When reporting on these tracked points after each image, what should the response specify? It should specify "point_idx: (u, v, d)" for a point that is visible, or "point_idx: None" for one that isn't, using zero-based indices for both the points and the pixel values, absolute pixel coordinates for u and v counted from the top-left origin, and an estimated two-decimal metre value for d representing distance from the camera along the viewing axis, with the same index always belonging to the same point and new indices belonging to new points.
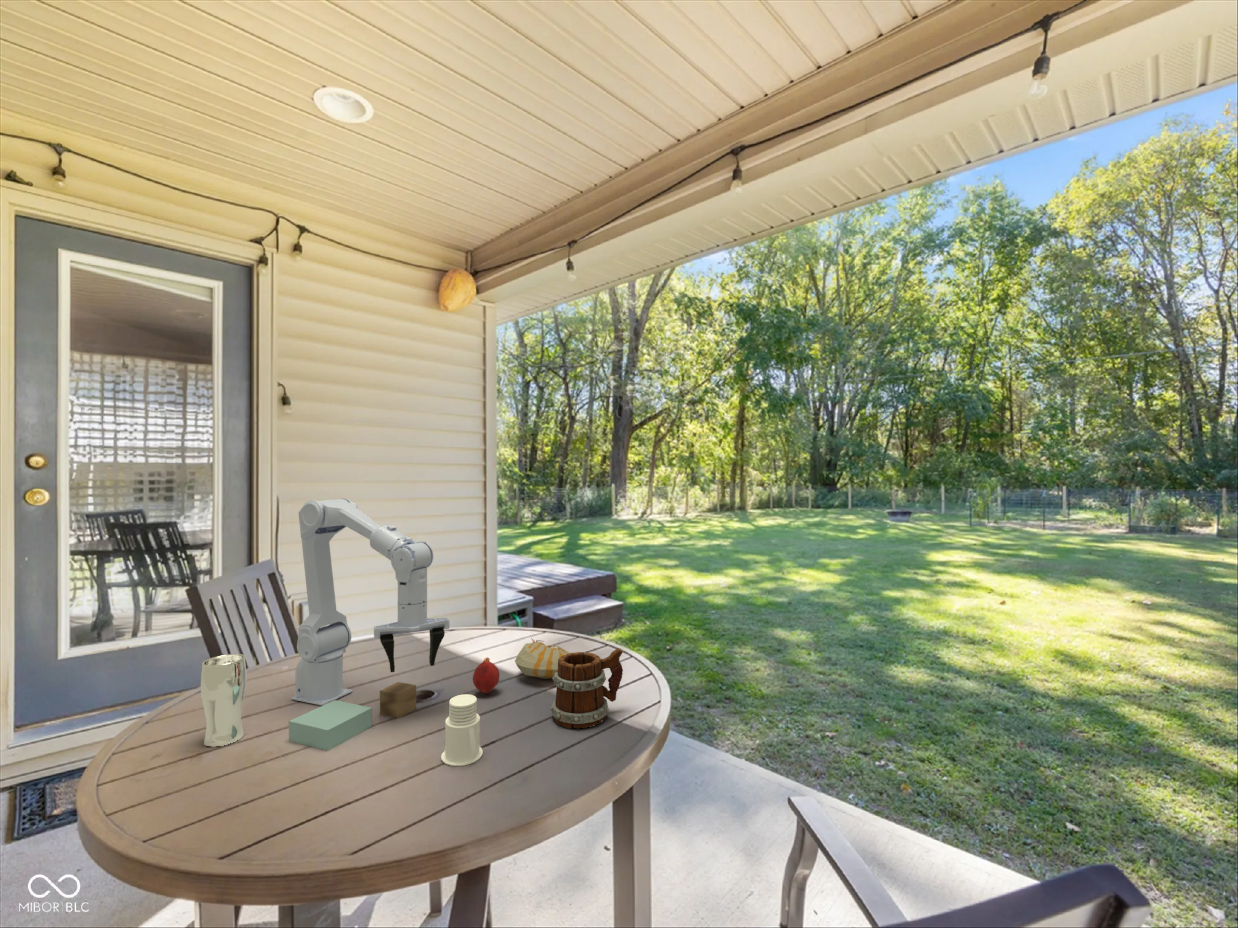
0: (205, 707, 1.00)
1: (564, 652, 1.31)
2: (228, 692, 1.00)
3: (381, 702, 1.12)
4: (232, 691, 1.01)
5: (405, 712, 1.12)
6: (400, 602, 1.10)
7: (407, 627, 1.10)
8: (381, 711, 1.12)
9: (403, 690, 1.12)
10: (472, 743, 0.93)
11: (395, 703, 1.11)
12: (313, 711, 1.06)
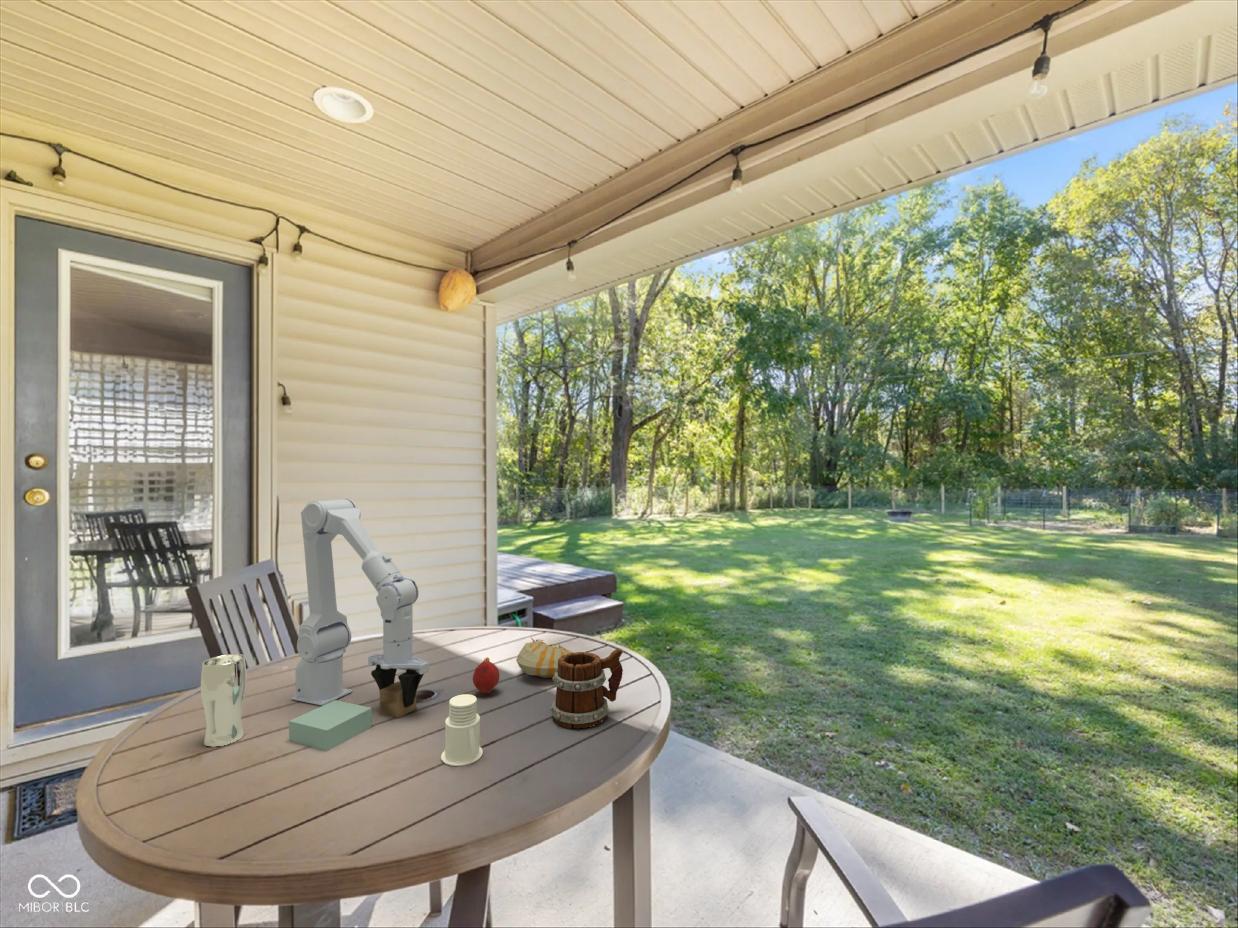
0: (205, 707, 1.00)
1: (565, 651, 1.31)
2: (228, 692, 1.00)
3: (381, 702, 1.12)
4: (232, 691, 1.01)
5: (405, 711, 1.12)
6: (385, 639, 1.12)
7: (383, 663, 1.12)
8: (381, 710, 1.12)
9: None
10: (472, 743, 0.93)
11: (396, 703, 1.11)
12: (313, 711, 1.06)
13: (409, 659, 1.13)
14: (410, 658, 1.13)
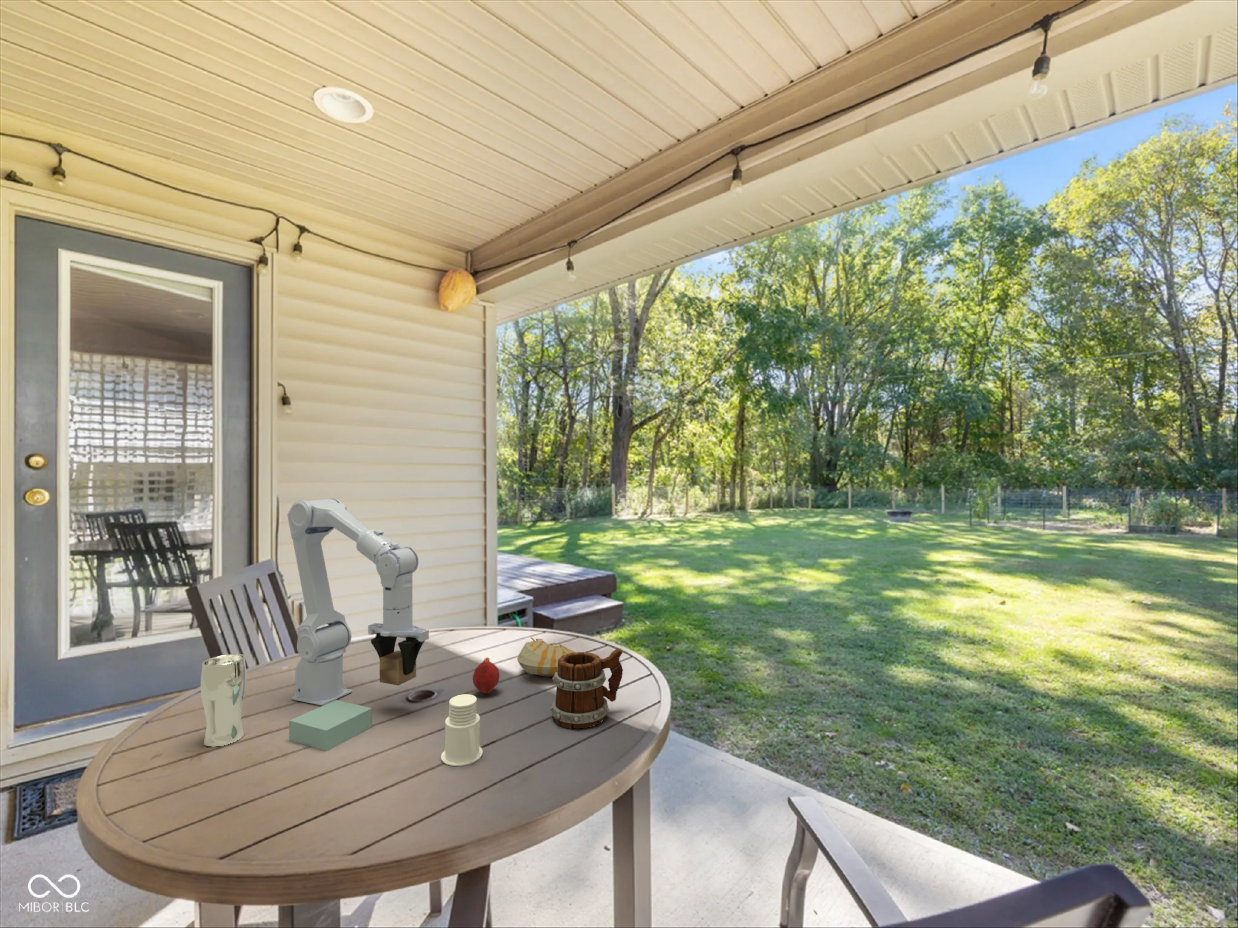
0: (205, 707, 1.00)
1: (566, 650, 1.32)
2: (228, 692, 1.00)
3: (381, 669, 1.12)
4: (232, 691, 1.01)
5: (405, 679, 1.12)
6: (385, 607, 1.12)
7: (383, 631, 1.12)
8: (381, 678, 1.12)
9: None
10: (472, 743, 0.93)
11: (395, 670, 1.11)
12: (313, 710, 1.06)
13: (409, 627, 1.13)
14: (410, 626, 1.13)
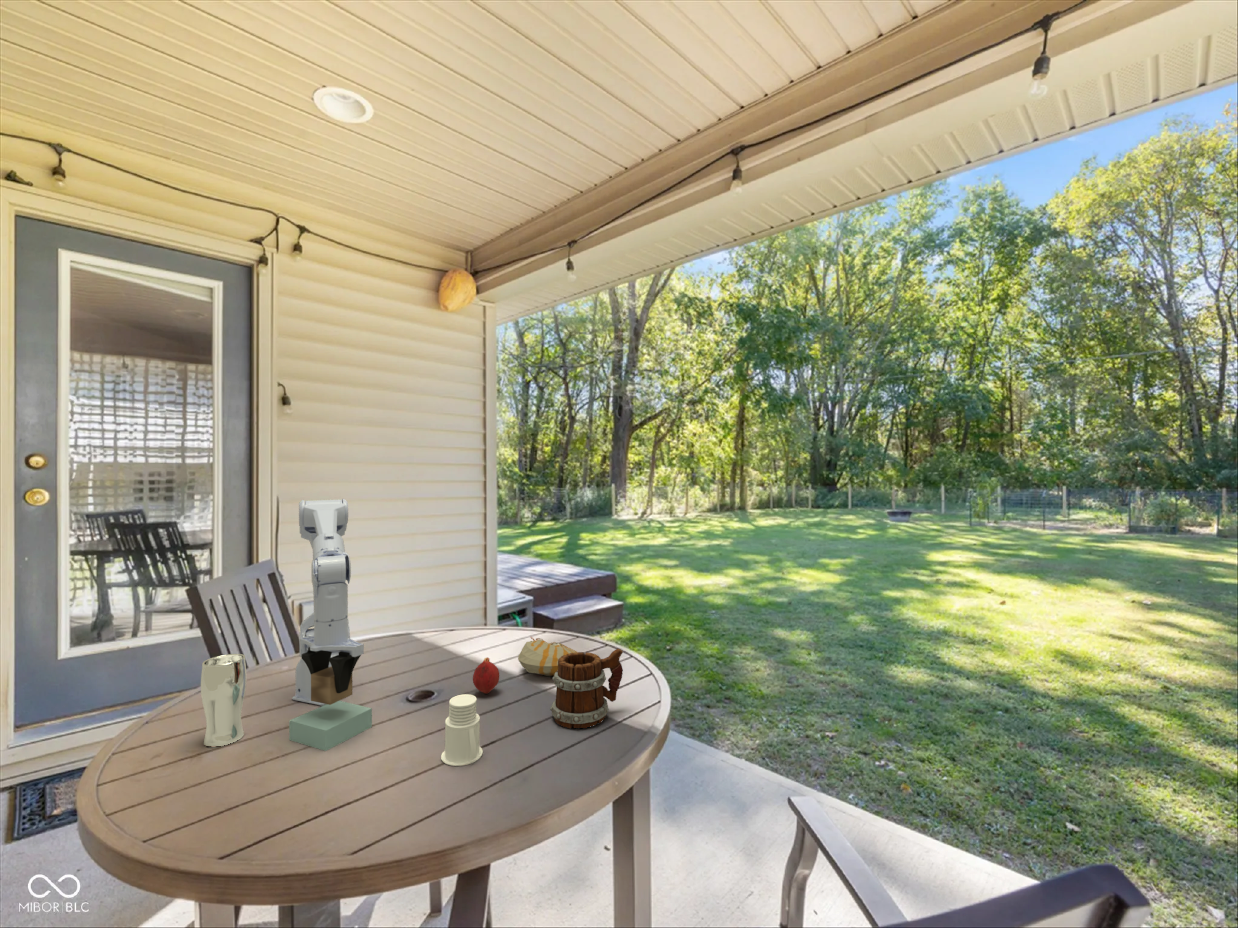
0: (205, 707, 1.00)
1: (567, 649, 1.33)
2: (228, 692, 1.00)
3: (312, 687, 1.03)
4: (232, 691, 1.01)
5: (338, 698, 1.03)
6: None
7: (313, 645, 1.03)
8: (312, 697, 1.03)
9: None
10: (472, 743, 0.93)
11: (327, 688, 1.02)
12: (313, 710, 1.06)
13: (343, 641, 1.04)
14: (344, 640, 1.04)
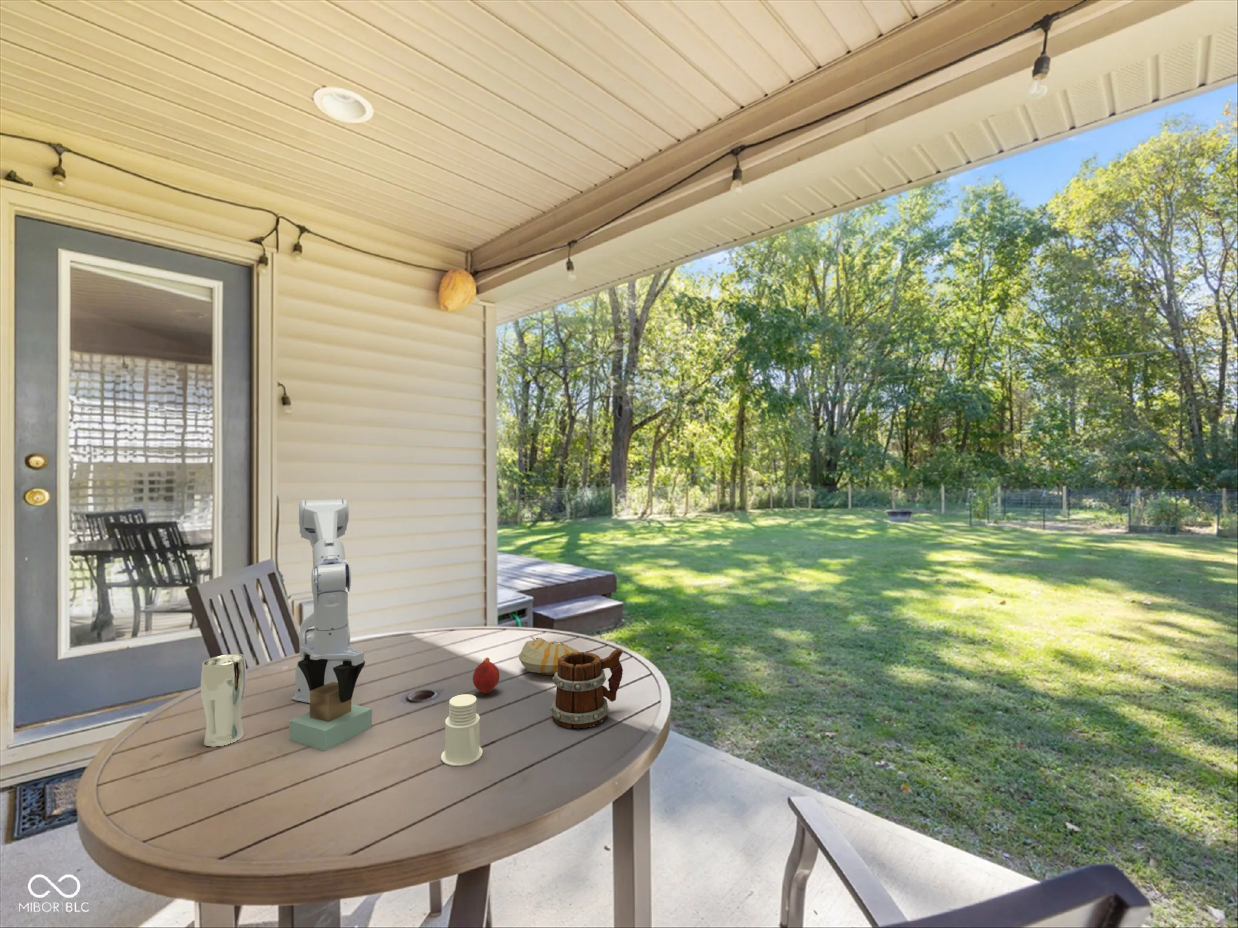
0: (205, 707, 1.00)
1: (568, 648, 1.34)
2: (228, 691, 1.00)
3: (311, 704, 1.03)
4: (232, 691, 1.01)
5: (337, 714, 1.03)
6: None
7: (313, 653, 1.02)
8: (311, 713, 1.03)
9: (335, 690, 1.03)
10: (472, 743, 0.93)
11: (326, 705, 1.02)
12: None
13: (343, 649, 1.04)
14: (344, 648, 1.04)
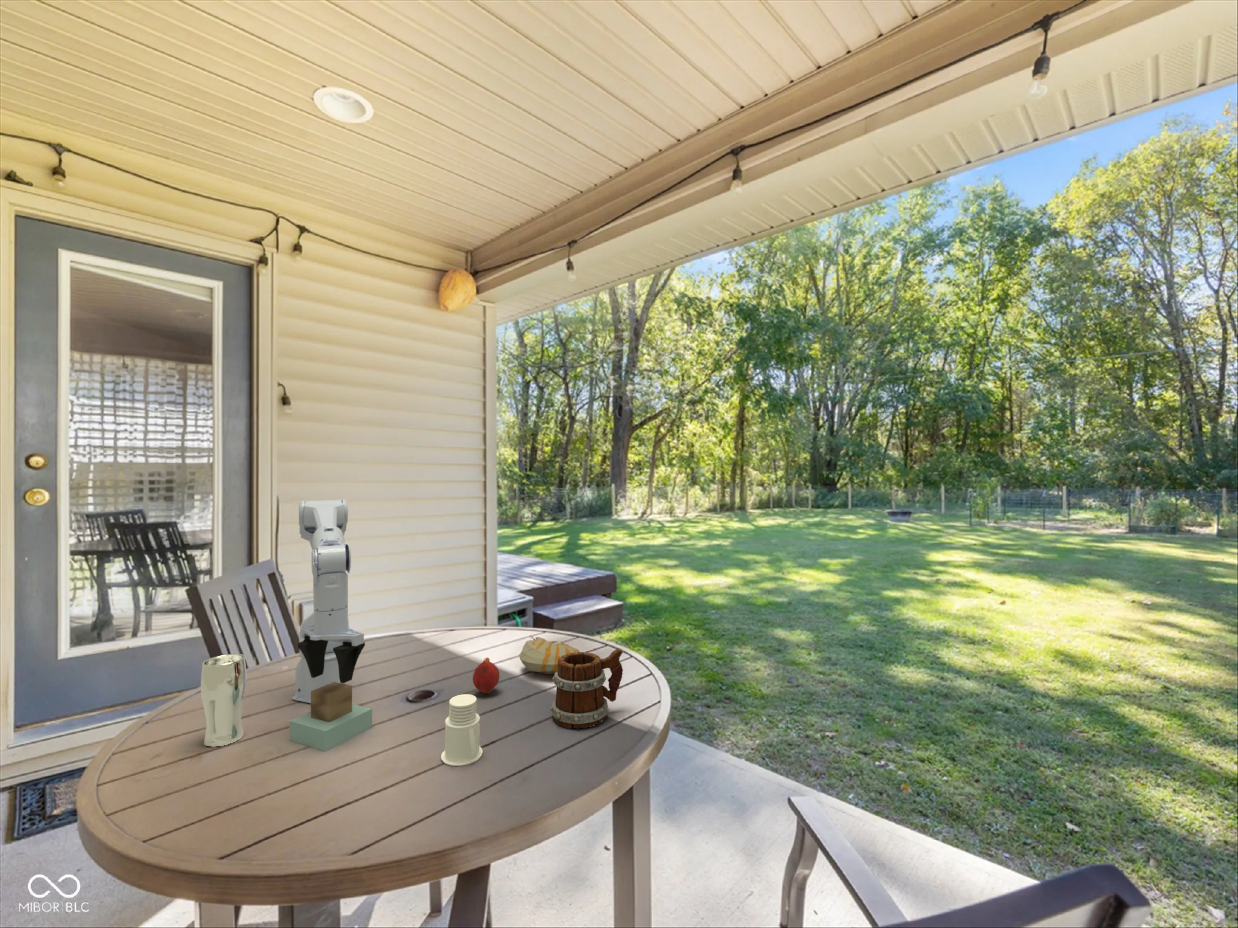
0: (205, 707, 1.00)
1: (569, 647, 1.34)
2: (228, 691, 1.00)
3: (312, 704, 1.03)
4: (232, 691, 1.01)
5: (338, 715, 1.03)
6: None
7: (313, 634, 1.03)
8: (312, 713, 1.03)
9: (336, 691, 1.03)
10: (472, 743, 0.93)
11: (326, 706, 1.02)
12: None
13: (343, 630, 1.04)
14: (344, 629, 1.04)
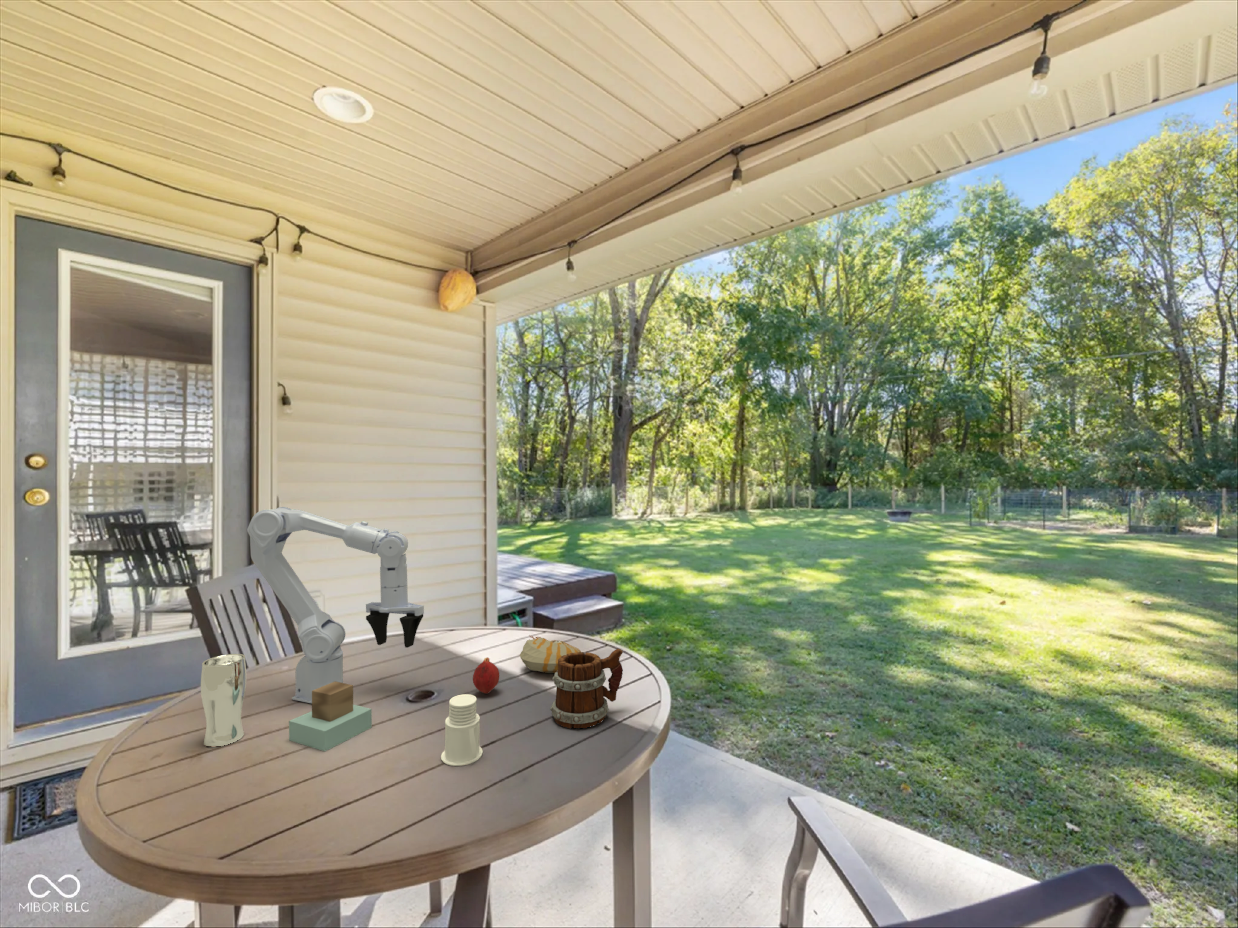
0: (205, 707, 1.00)
1: (569, 646, 1.35)
2: (228, 691, 1.00)
3: (313, 703, 1.03)
4: (232, 691, 1.01)
5: (339, 714, 1.03)
6: (388, 586, 1.22)
7: (381, 607, 1.23)
8: (313, 713, 1.03)
9: (337, 690, 1.03)
10: (472, 743, 0.93)
11: (327, 705, 1.02)
12: None
13: (405, 604, 1.24)
14: (406, 603, 1.24)
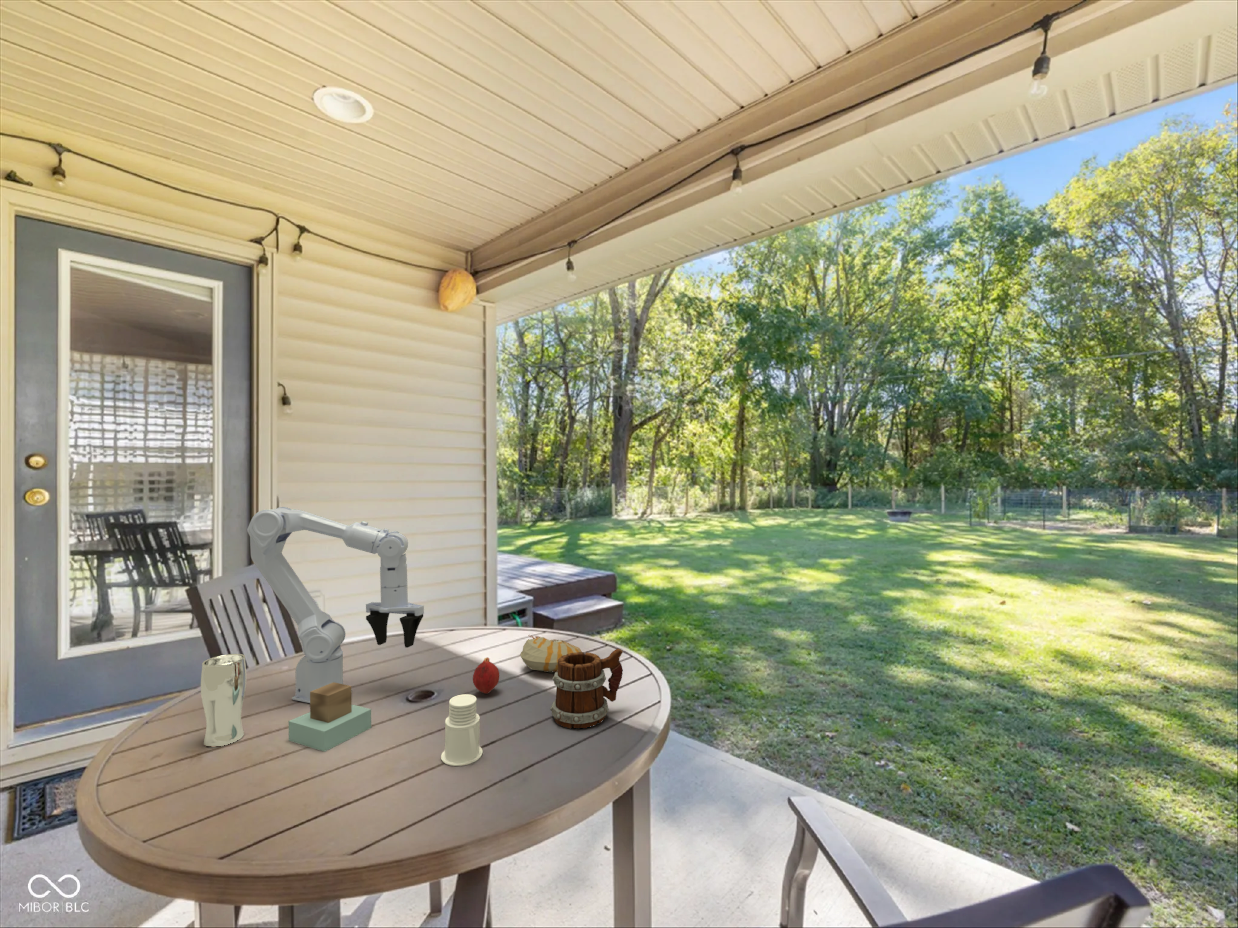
0: (205, 707, 1.00)
1: (570, 645, 1.36)
2: (228, 691, 1.00)
3: (312, 704, 1.03)
4: (232, 691, 1.01)
5: (337, 716, 1.03)
6: (388, 586, 1.22)
7: (381, 607, 1.23)
8: (311, 714, 1.03)
9: (335, 691, 1.03)
10: (472, 743, 0.93)
11: (325, 706, 1.01)
12: None
13: (405, 604, 1.24)
14: (406, 603, 1.24)
